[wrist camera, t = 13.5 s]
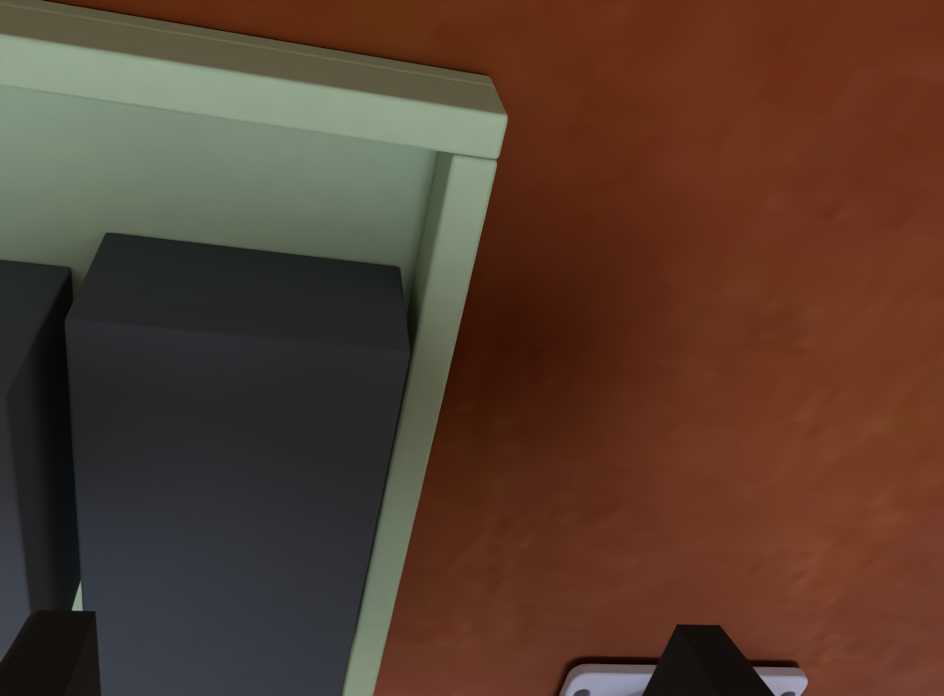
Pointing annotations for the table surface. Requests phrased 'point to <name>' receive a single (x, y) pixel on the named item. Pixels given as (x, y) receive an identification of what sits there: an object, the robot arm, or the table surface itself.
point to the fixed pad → (229, 461)
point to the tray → (257, 188)
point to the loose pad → (35, 447)
